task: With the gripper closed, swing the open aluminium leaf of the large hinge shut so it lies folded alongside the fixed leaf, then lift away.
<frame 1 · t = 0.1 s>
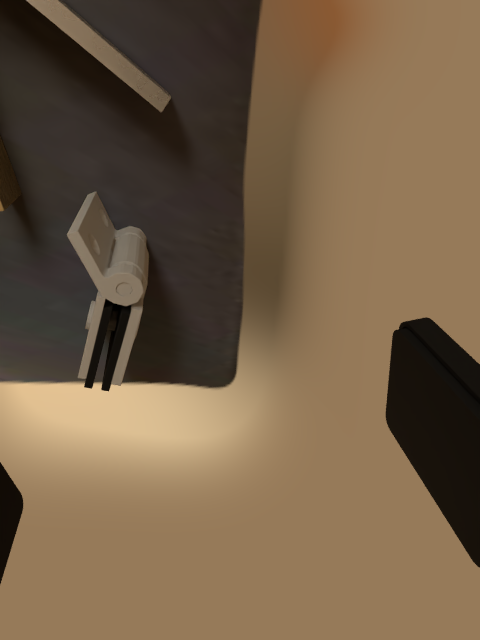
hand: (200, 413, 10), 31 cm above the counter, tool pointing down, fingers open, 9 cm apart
hinge: (112, 263, 40), on the counter
open leaf: (71, 22, 28), point 3 cm above the counter, hinge at 45.0°
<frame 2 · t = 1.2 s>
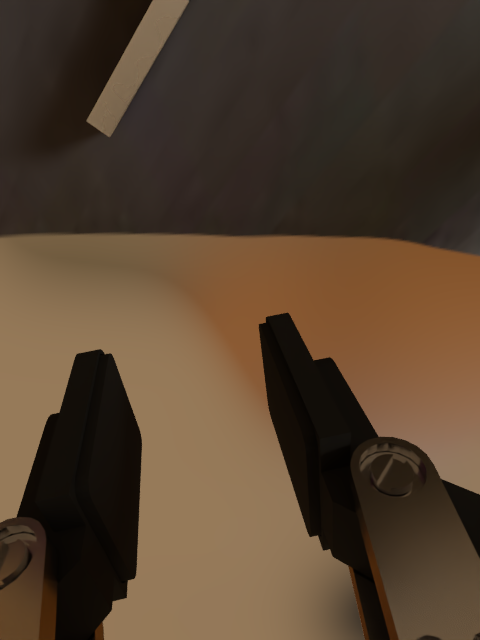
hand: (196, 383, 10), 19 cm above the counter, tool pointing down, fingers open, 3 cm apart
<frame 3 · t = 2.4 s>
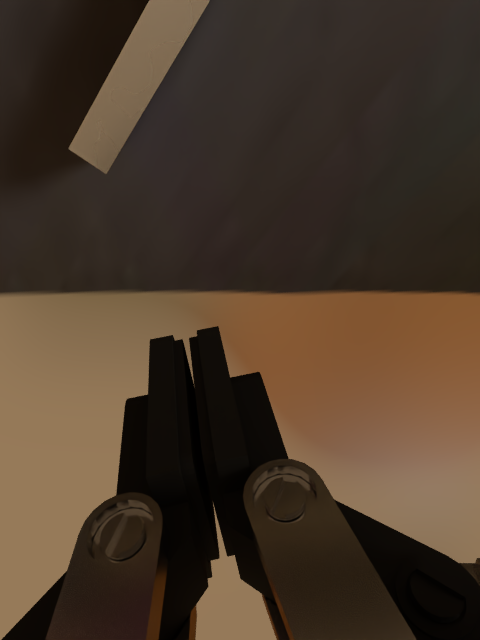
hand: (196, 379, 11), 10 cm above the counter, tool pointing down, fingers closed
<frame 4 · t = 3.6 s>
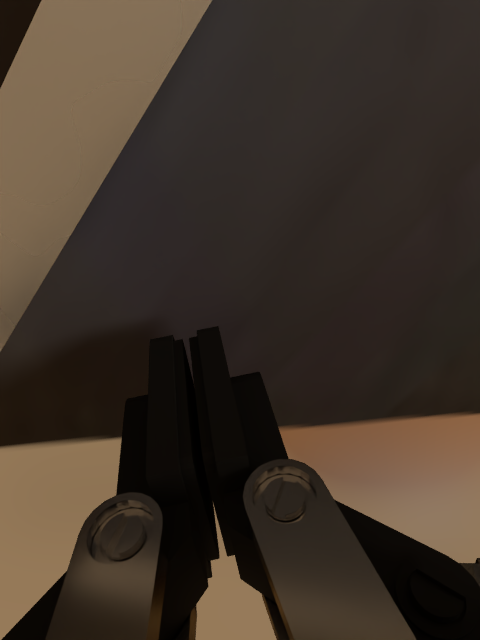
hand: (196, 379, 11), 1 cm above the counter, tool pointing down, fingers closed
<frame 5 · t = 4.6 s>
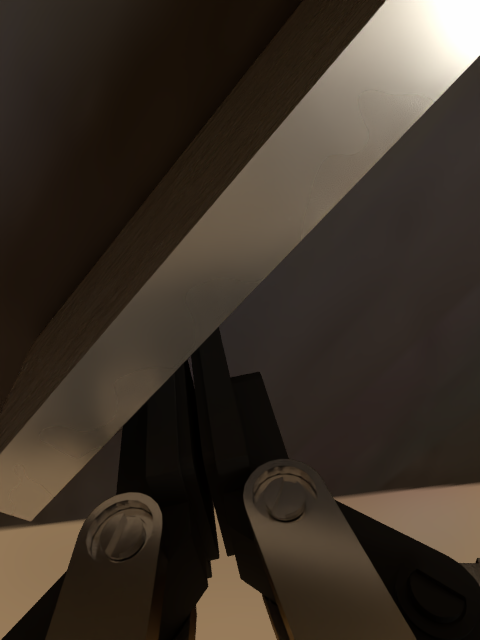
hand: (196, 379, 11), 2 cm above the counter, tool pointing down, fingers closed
open leaf: (270, 136, 7), point 3 cm above the counter, hinge at 40.9°, touching gripper
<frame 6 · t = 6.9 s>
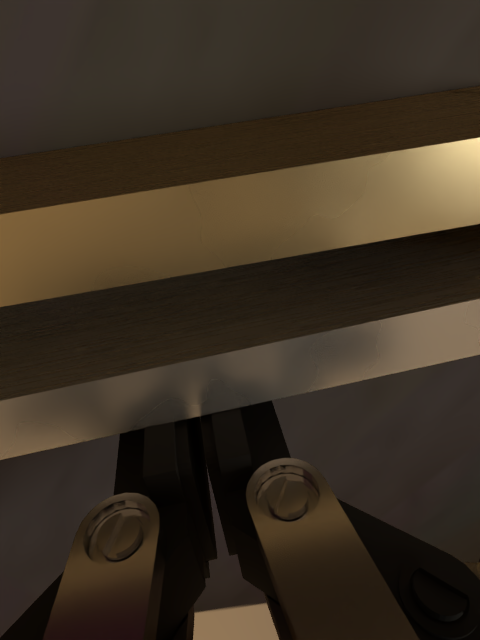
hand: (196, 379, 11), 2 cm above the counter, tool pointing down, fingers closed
open leaf: (163, 324, 9), point 3 cm above the counter, hinge at 1.8°, touching gripper
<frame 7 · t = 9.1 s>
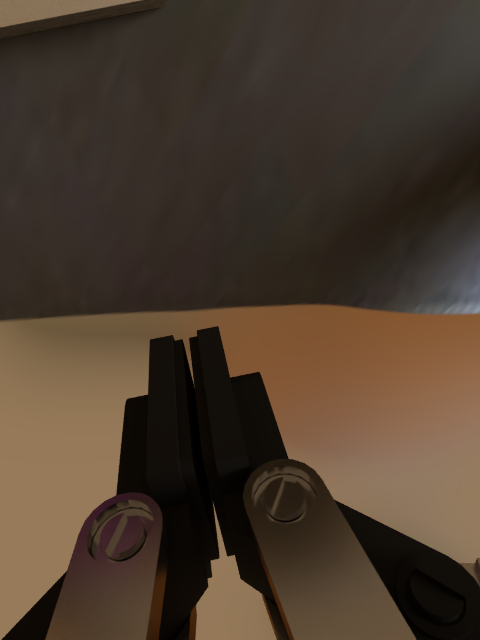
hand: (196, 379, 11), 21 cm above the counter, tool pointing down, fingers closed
open leaf: (10, 15, 20), point 3 cm above the counter, hinge at 1.7°
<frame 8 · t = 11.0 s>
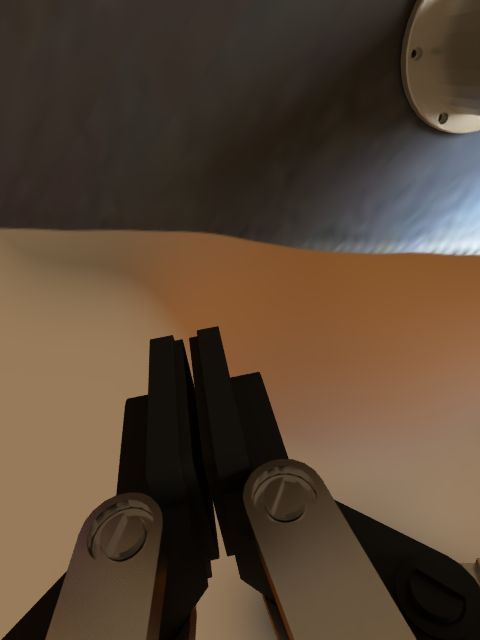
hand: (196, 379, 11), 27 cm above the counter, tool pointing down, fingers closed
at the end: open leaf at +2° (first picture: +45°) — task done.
